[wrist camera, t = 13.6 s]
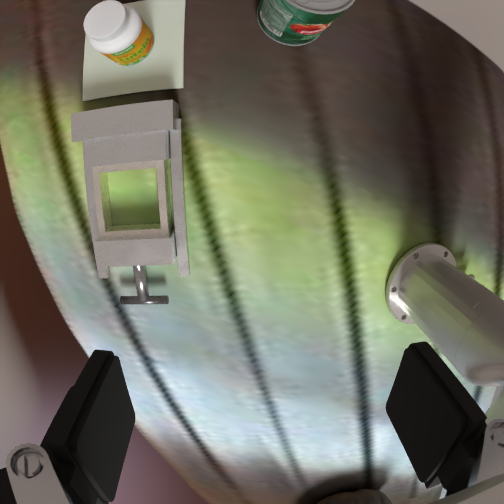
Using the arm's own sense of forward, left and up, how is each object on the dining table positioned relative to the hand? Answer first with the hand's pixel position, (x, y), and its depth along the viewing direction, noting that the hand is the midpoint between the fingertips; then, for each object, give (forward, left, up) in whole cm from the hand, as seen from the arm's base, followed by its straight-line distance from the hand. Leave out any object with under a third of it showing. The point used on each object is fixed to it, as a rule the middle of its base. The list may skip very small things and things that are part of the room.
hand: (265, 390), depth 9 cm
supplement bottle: (+11, -19, -28) cm, 36 cm away
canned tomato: (-7, -23, -29) cm, 37 cm away
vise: (+11, 0, -28) cm, 31 cm away
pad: (+11, -20, -29) cm, 36 cm away
